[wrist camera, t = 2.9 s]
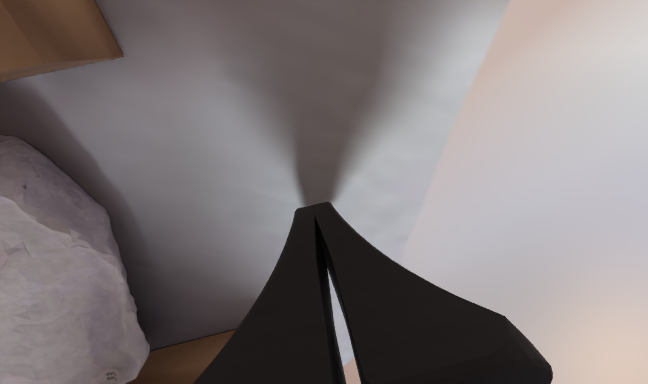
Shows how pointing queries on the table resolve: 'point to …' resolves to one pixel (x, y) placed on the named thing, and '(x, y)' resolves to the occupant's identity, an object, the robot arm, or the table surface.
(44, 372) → the stone block
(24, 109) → the table surface
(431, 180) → the table surface
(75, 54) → the wooden bar set
